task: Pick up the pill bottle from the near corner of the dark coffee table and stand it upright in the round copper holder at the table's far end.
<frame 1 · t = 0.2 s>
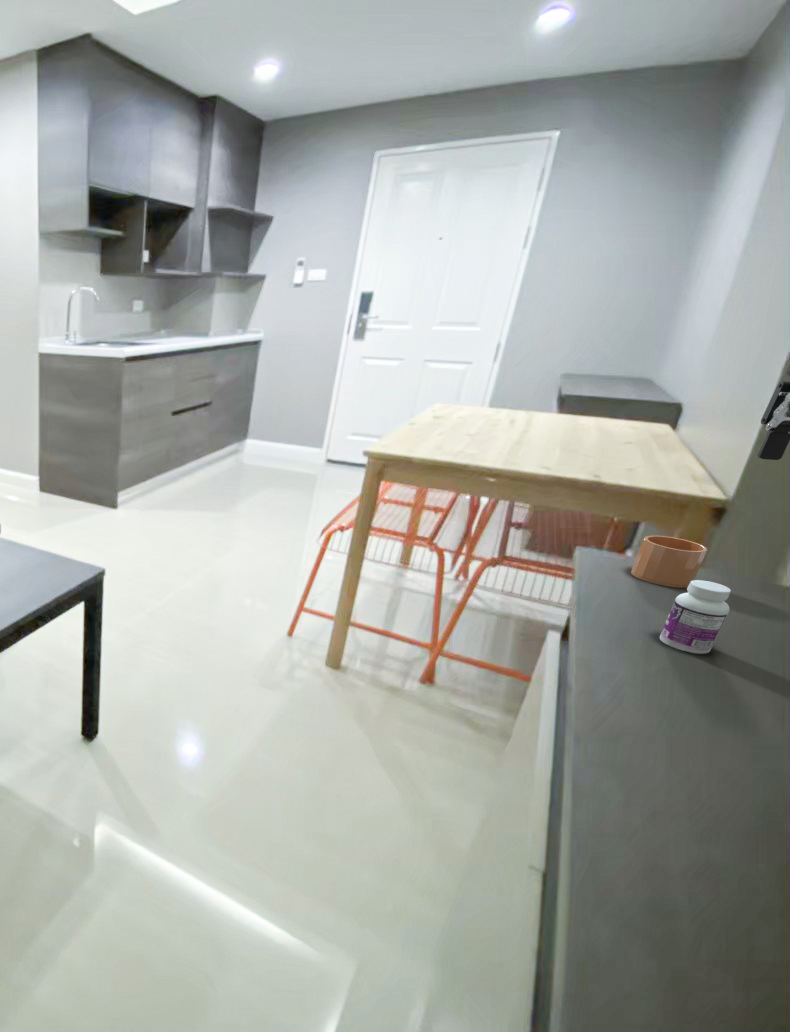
hand: (785, 465, 82), 26 cm above the cabinet, tool pointing down, fingers open, 8 cm apart
holder: (660, 579, 109), on the cabinet
pill bottle: (682, 647, 87), on the cabinet
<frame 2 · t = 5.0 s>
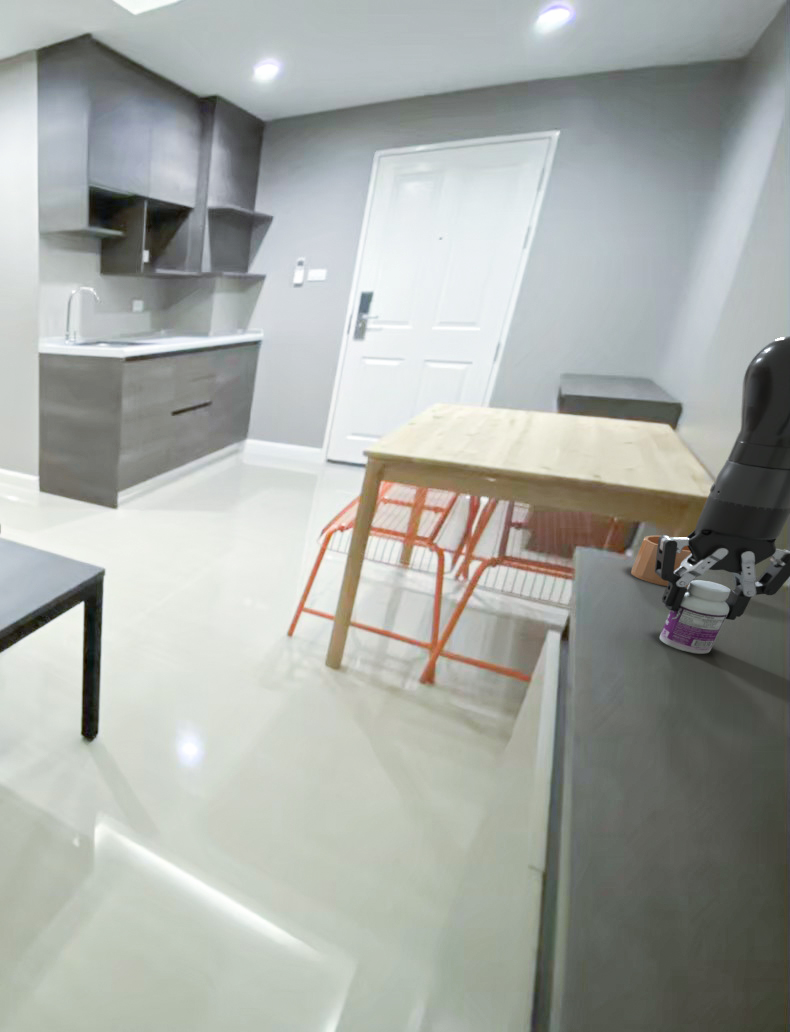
hand: (698, 612, 85), 5 cm above the cabinet, tool pointing down, fingers closed on pill bottle, 5 cm apart
pill bottle: (682, 647, 87), on the cabinet, touching gripper
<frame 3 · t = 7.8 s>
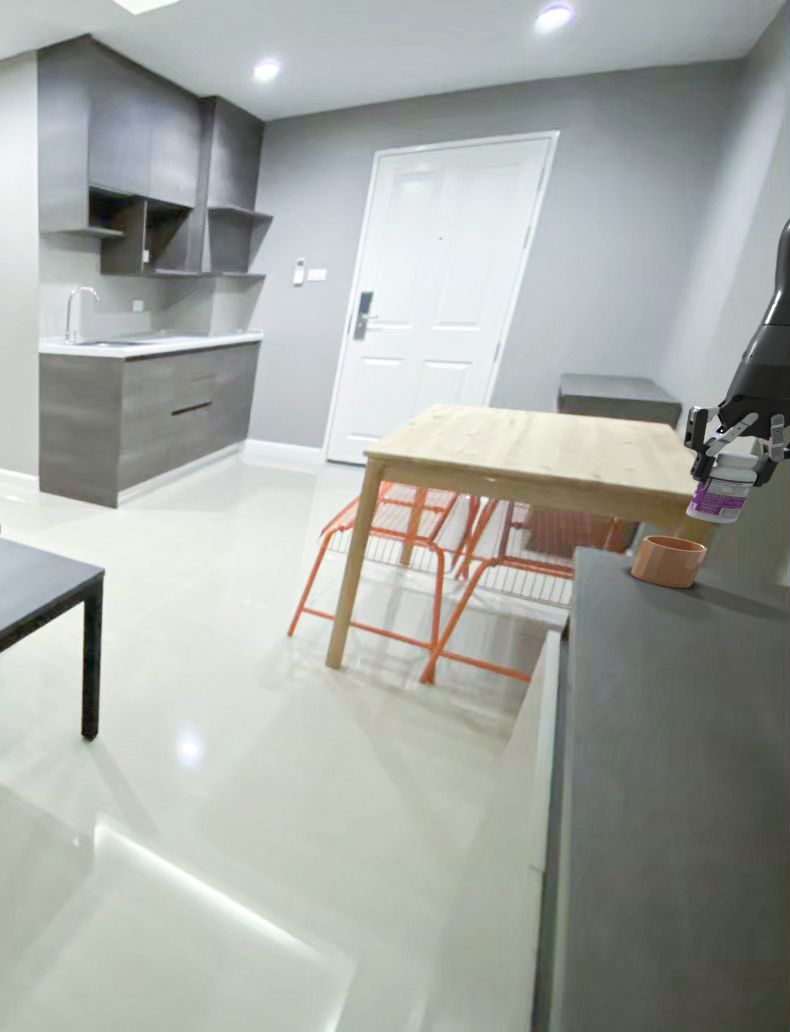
hand: (726, 482, 88), 22 cm above the cabinet, tool pointing down, fingers closed on pill bottle, 5 cm apart
pill bottle: (708, 519, 90), point 16 cm above the cabinet, touching gripper
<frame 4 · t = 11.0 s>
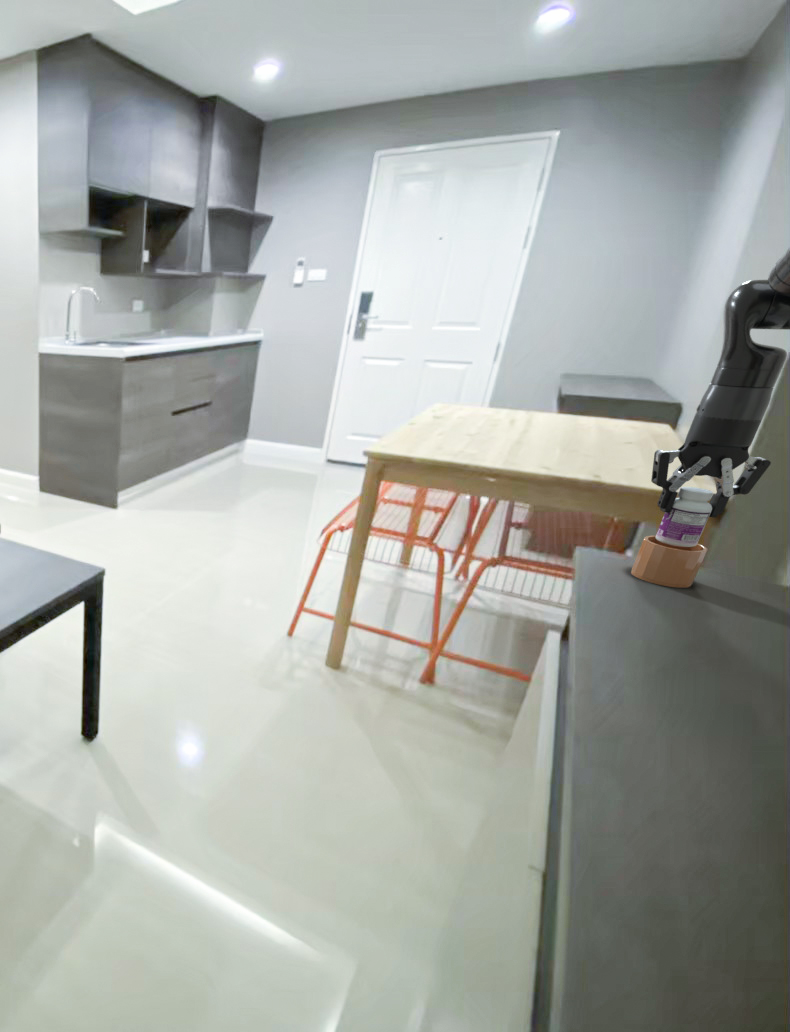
hand: (687, 513, 104), 13 cm above the cabinet, tool pointing down, fingers closed on pill bottle, 5 cm apart
pill bottle: (674, 543, 106), point 7 cm above the cabinet, touching gripper
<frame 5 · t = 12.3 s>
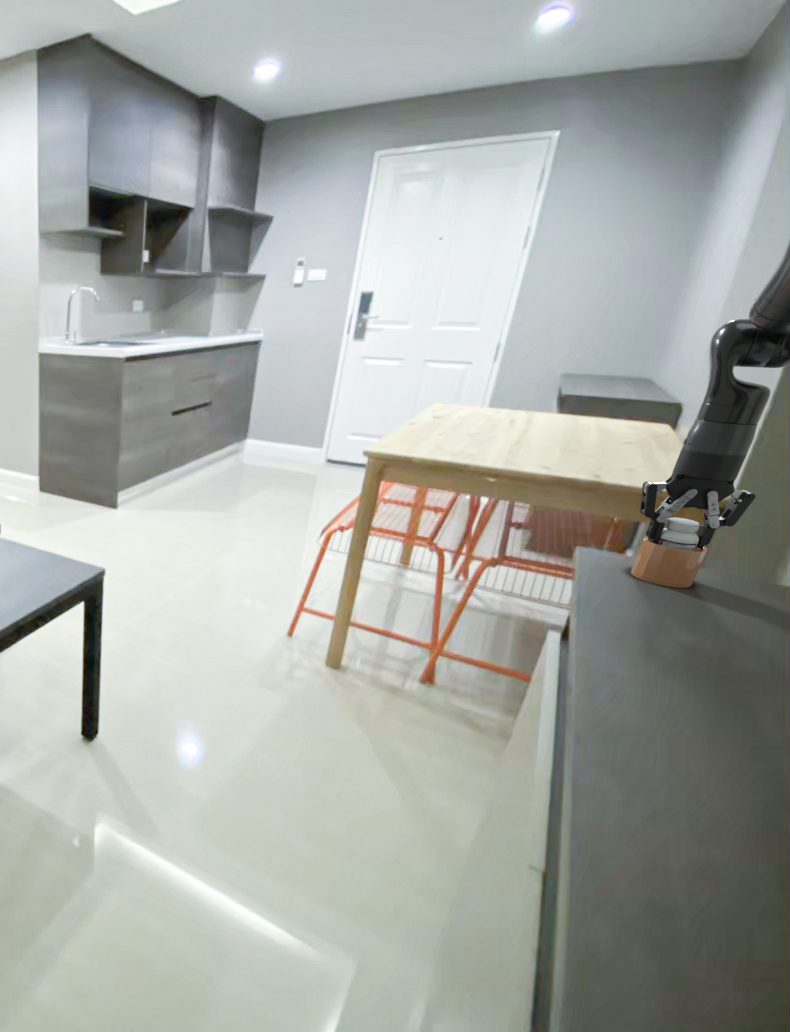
hand: (674, 543, 106), 7 cm above the cabinet, tool pointing down, fingers closed on pill bottle, 5 cm apart
pill bottle: (662, 572, 108), point 1 cm above the cabinet, touching gripper
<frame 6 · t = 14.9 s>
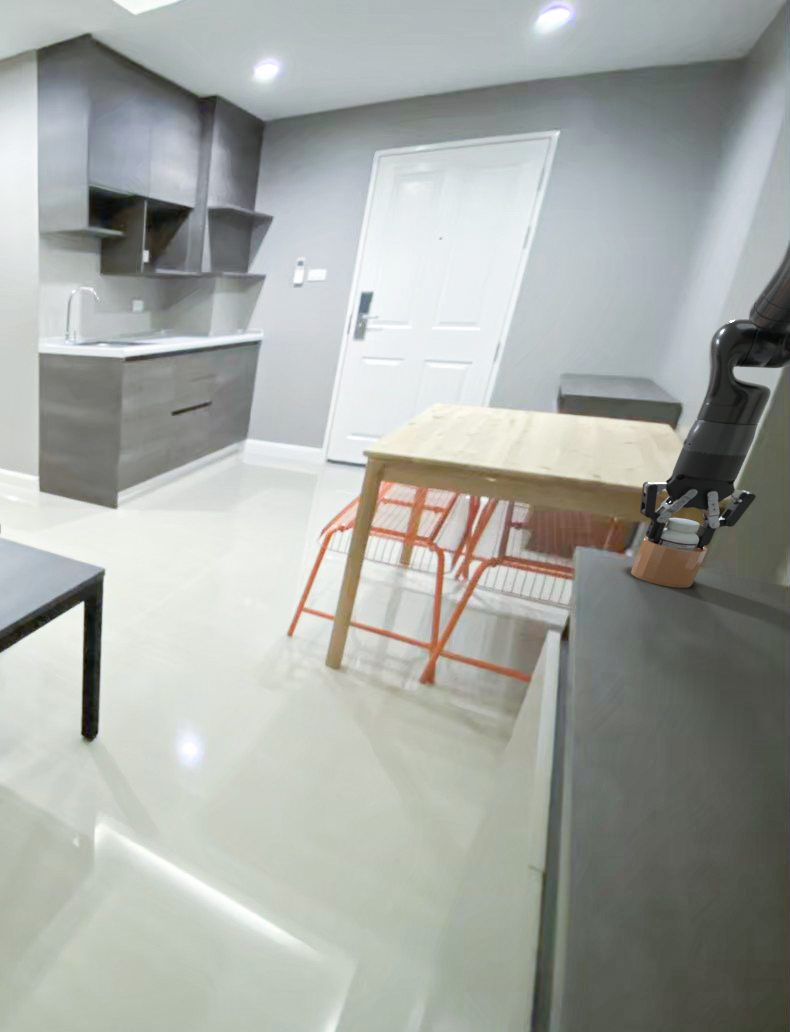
hand: (675, 543, 106), 7 cm above the cabinet, tool pointing down, fingers closed on pill bottle, 5 cm apart
pill bottle: (662, 572, 108), point 1 cm above the cabinet, touching gripper
when the fingers open (7 cm above the cabinet, at t = 17.1 s): pill bottle drops 1 cm, resting on holder.
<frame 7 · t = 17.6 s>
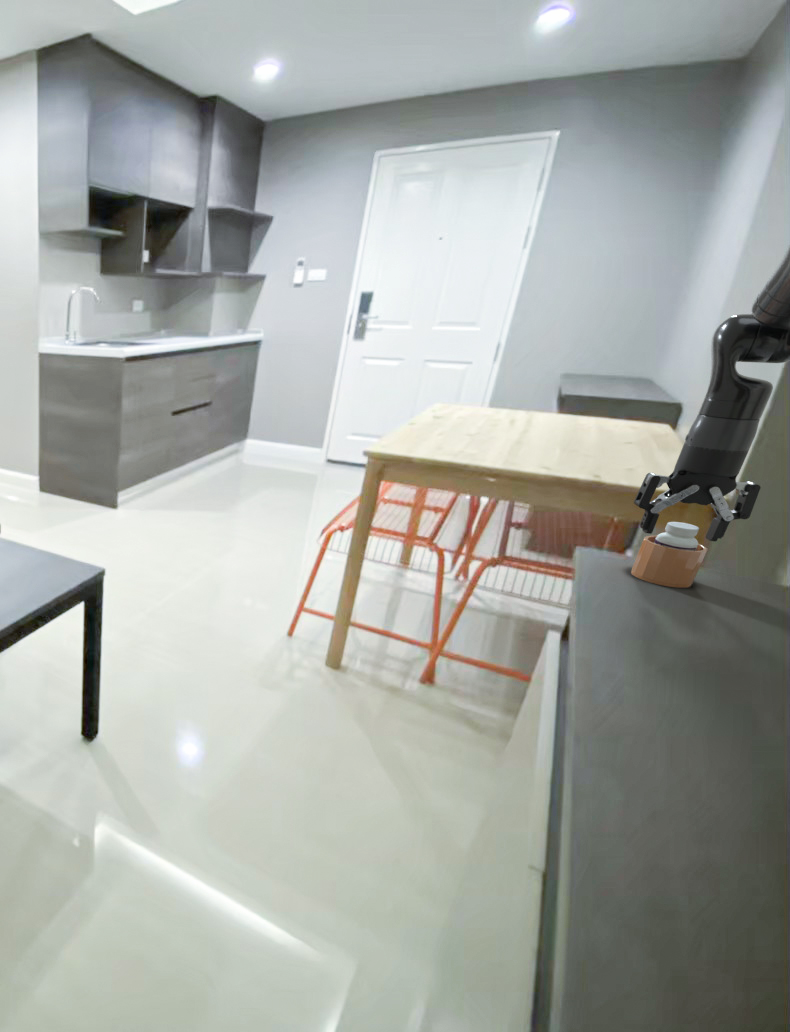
hand: (678, 536, 106), 8 cm above the cabinet, tool pointing down, fingers open, 8 cm apart
pill bottle: (661, 576, 109), point 1 cm above the cabinet, touching holder
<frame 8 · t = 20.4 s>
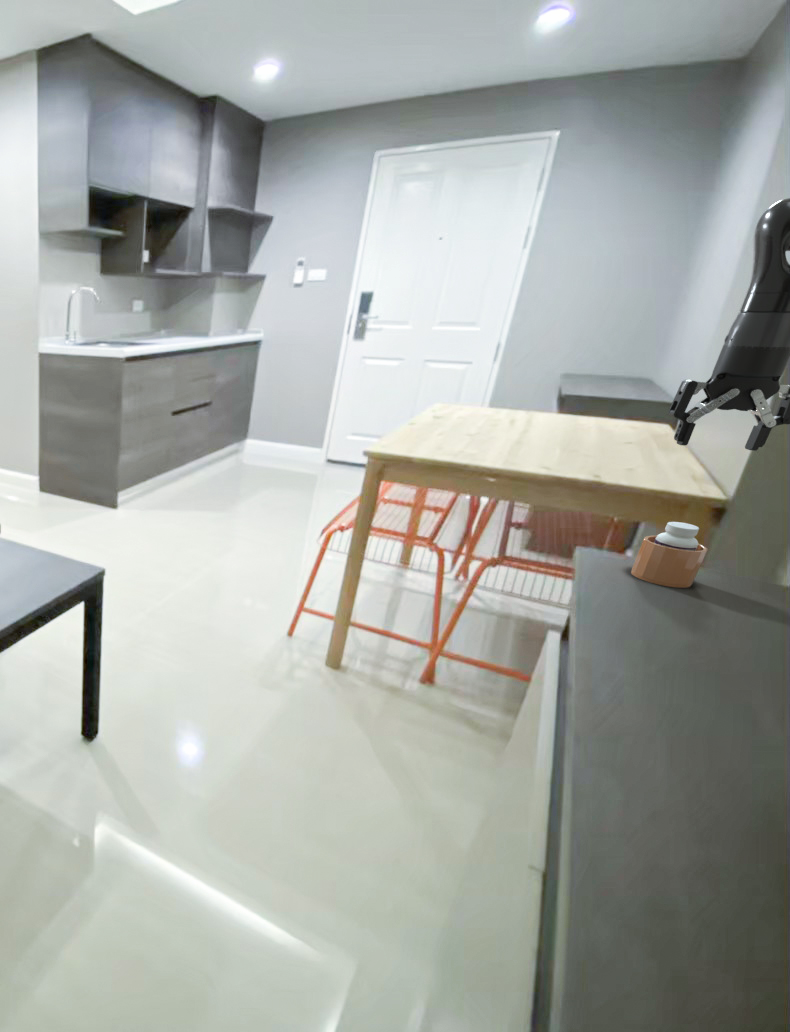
hand: (715, 447, 100), 24 cm above the cabinet, tool pointing down, fingers open, 8 cm apart
nothing on the cabinet moved.
at the end: pill bottle 0.1 cm off-centre in the holder, point 0.6 cm above the holder's base; pill bottle tilted 0°; the gripper is holding nothing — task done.
